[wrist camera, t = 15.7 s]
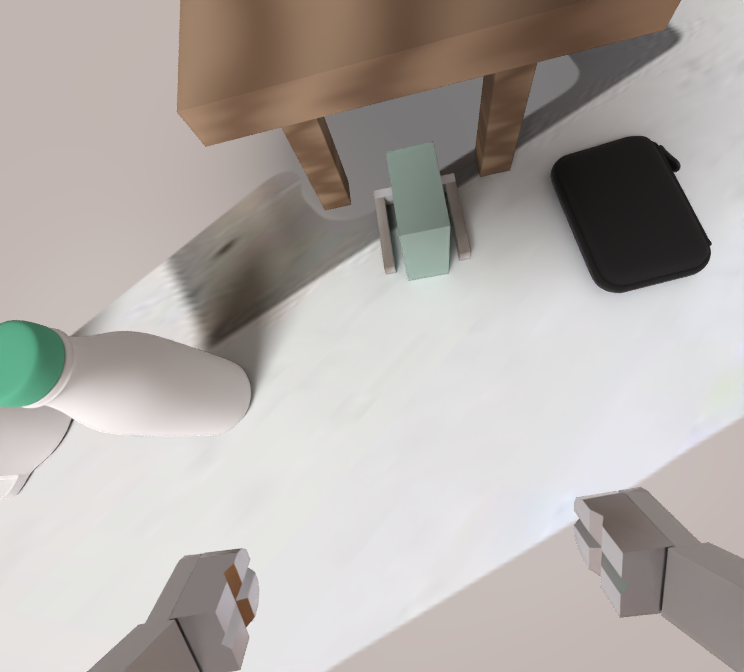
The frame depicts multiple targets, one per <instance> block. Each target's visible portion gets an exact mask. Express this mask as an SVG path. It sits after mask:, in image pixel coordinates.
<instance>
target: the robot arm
mask: <svg viewBox="0 0 744 672" xmlns="http://www.w3.org/2000/svg"><path fill="white" fill-rule="evenodd" d="M70 421H71V417H70V416H68V415H66V414H65V413H63V412H61V411H59V410H57V409H54V408H52V407H49V406H46V405H43V406H41V407H37V408H23V407H0V499H10V498H13V497H14V496H15V495H17V493H18V492H19V491H20V490H21V488H22V487H23V485H24V483H25V482H26V480H27V478H28V477H29V475H30V473H31V472H32V471H33V470H34V469H35V468H36V467H37V466H38V465H39V464H41V463H42V462H43V461H44V460H45V459H46V458H47V457H48V456H49V455H50V454H51V453H52V452H53V451H54V450H55V448H56V447H57V446H58V444H59V443H60V441H61V440H62V438H63V436H64V435H65V433H66V431H67V429H68V426H69V424H70ZM574 511H575V513H576V514H577V515H578V517H579V520H578V521H577V522H576V524H575V525H574V531H575V539H576V543H577V546H578V549H579V551H580V554H581V556H582V558H583V560H584V561H585V563H586V564H587V566H588V568H589V569H590V570H591V571H593V572H595V573H596V574H598V575H599V576H601V589H602V590H603V592H604V594H605V595H606V597H607V598H608V600H609V601H610V603H611V605H612V606H613V608H614V609H615V611H616V612H617V614H618V616H619V617H620V618H621V617H629V616H638V615H648V614H657V613H662V614H661V615H662V616H663V617H664V618H665V619H667V620H668V621H669V622H671V623H672V624H673V625H675V626H676V627H677V628H679V629H680V630H681V631H683V632H684V633H685V634H687V635H688V636H689V637H691V638H692V639H693V640H695V641H696V642H697V643H699V644H700V645H701V646H703V647H704V648H705V649H706V650H708V651H709V652H710V653H712V654H713V655H715V656H716V657H717V658H718V659H720V660H721V661H723V662H724V663H725V664H726V665H728V666H729V667H730V668H732V669H733V670H734V671H736V672H744V559H743V558H741V557H739V556H736V555H734V554H732V553H730V552H728V551H726V550H724V549H721V548H719V547H717V546H715V545H713V544H711V543H700V542H699V541H698V540H697V539H696V538H695V537H694V536H693V535H692V534H691V533H690V532H689V531H688V530H687V529H686V528H685V527H684V526H683V525H682V524H681V523H680V522H679V521H678V520H677V519H676V518H675V517H674V516H673V515H672V514H671V513H670V512H669V511H668V510H667V509H666V508H664V507H663V506H662V505H661V504H660V503H659V502H658V501H657V500H656V499H655V498H654V497H653V496H652V495H651V494H650V493H649V492H648V491H647V490H646V489H644V488H642V487H638V488H632V489H626V490H619V491H613V492H607V493H601V494H595V495H588V496H582V497H576V499H575V502H574ZM249 562H250V557H249V555H248V552H247V550H246V549H242V548H241V549H233V550H225V551H216V552H208V553H204V554H195V555H187V556H184V557H183V558H182V559H181V560H179V562H178V563H177V565H176V567H175V569H174V571H173V573H172V574H171V576H170V578H169V580H168V582H167V584H166V586H165V587H164V589H163V591H162V593H161V595H160V597H159V598H158V600H157V602H156V604H155V606H154V608H153V610H152V611H151V613H150V615H149V617H148V619H147V621H146V623H145V624H140V625H138V626H137V627H136V628H134V629H133V630H132V631H131V632H130V633H129V634H128V635H127V636H126V637H125V638H123V639H122V640H121V641H120V642H119V643H118V644H117V645H116V646H115V647H114V648H113V649H111V650H110V651H109V652H108V653H107V654H106V655H105V656H104V657H103V658H102V659H101V660H99V661H98V662H97V663H96V664H95V665H94V666H93V667H92V668H91V669H90V670H89V671H87V672H231V671H237V670H240V669H241V666H242V662H243V659H244V655H245V651H246V648H247V644H248V641H249V635H248V632H247V630H246V627H247V626H248V625H249V623H250V622H251V621H252V620H253V619H254V617H255V615H256V611H257V607H258V600H259V585H258V579H257V576H256V573H255V572H254V571H252V570H251V569H250V568H248V565H249Z"/></svg>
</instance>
